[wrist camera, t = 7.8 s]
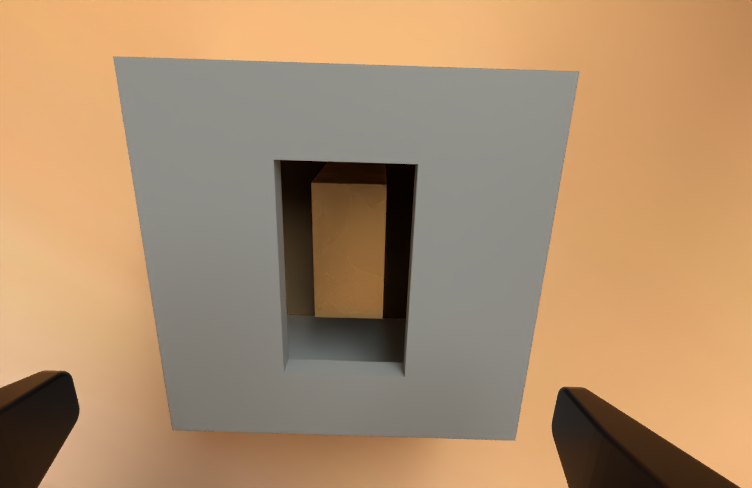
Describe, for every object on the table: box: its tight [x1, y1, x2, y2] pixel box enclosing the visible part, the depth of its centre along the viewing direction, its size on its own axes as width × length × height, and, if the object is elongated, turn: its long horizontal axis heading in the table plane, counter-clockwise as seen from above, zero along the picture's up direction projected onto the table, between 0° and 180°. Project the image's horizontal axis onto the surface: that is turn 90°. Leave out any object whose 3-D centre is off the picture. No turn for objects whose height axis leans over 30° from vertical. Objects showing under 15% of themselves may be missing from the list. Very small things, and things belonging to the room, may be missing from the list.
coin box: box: [113, 57, 579, 441], centre depth 16 cm, size 12×12×7 cm
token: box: [311, 161, 387, 319], centre depth 17 cm, size 5×2×5 cm, turn 178°
